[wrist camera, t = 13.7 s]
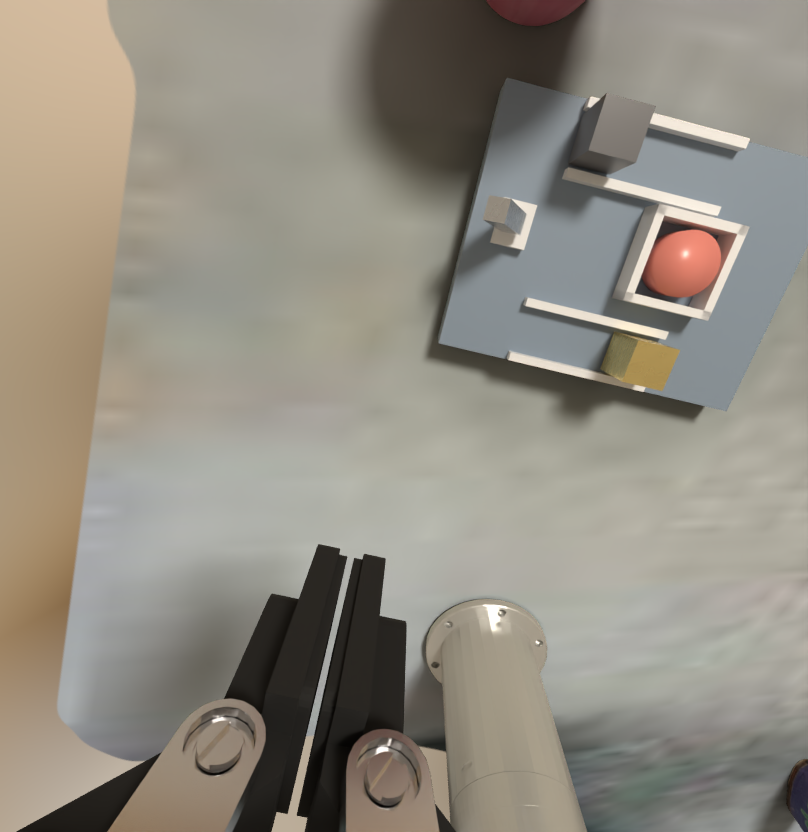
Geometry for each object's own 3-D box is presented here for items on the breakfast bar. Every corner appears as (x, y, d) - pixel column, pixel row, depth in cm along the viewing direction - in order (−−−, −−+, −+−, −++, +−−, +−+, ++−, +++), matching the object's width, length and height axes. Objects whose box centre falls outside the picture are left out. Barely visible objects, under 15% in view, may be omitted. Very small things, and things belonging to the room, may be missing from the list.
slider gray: (609, 174, 31) (635, 162, 27) (567, 163, 31) (588, 150, 27) (626, 125, 30) (655, 106, 26) (583, 114, 30) (606, 92, 26)
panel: (707, 402, 39) (743, 419, 35) (437, 338, 38) (439, 347, 34) (815, 174, 33) (873, 161, 29) (500, 91, 32) (513, 64, 28)
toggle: (520, 235, 31) (504, 223, 27) (501, 231, 32) (482, 219, 28) (526, 213, 31) (511, 198, 27) (507, 210, 31) (489, 195, 27)
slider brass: (636, 377, 36) (662, 391, 32) (600, 368, 35) (621, 381, 32) (651, 340, 35) (680, 349, 31) (614, 331, 35) (638, 339, 31)
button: (687, 301, 34) (703, 303, 32) (631, 287, 33) (644, 289, 32) (713, 239, 32) (732, 238, 30) (655, 224, 32) (670, 222, 30)
